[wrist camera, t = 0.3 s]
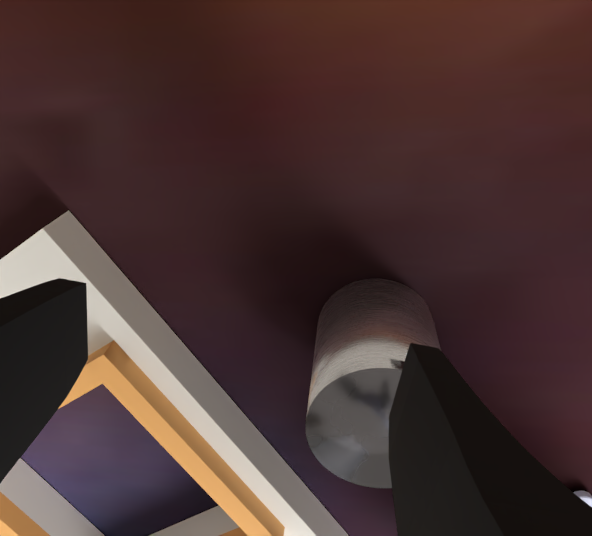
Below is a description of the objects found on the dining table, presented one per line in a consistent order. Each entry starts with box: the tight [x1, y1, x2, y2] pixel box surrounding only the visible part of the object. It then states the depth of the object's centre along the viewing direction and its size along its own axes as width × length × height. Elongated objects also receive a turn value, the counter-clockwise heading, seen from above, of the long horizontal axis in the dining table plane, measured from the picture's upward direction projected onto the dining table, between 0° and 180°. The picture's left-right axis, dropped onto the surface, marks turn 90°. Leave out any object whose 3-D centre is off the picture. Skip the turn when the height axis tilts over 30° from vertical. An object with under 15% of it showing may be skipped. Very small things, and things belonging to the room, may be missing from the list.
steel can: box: [306, 278, 441, 488], centre depth 20 cm, size 5×5×6 cm
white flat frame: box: [0, 210, 349, 536], centre depth 26 cm, size 22×15×3 cm
